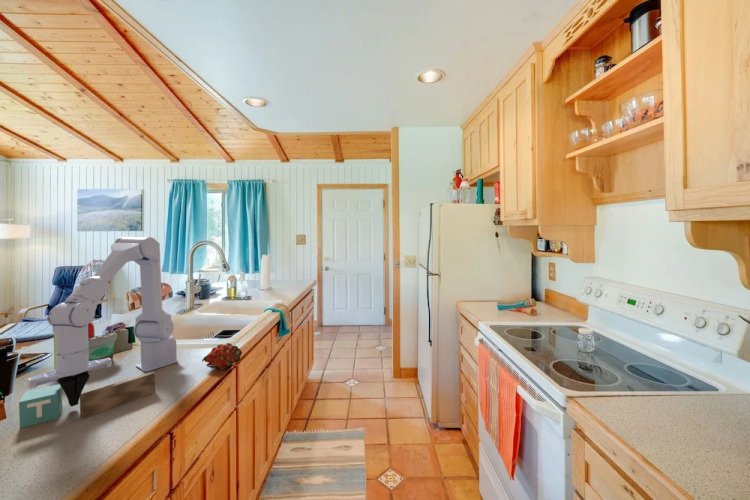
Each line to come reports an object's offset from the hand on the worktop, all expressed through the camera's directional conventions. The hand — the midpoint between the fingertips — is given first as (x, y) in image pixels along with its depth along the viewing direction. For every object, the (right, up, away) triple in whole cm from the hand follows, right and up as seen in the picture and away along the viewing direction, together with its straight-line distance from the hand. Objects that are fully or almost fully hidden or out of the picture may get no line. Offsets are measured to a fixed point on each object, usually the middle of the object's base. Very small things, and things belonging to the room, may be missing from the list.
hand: (73, 404), depth 74 cm
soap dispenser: (-25, 0, +22) cm, 33 cm away
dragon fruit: (+24, -1, +26) cm, 35 cm away
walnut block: (+9, -2, +3) cm, 10 cm away
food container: (-16, 0, +25) cm, 30 cm away
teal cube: (-4, -2, -3) cm, 6 cm away
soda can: (-30, 0, +33) cm, 45 cm away
